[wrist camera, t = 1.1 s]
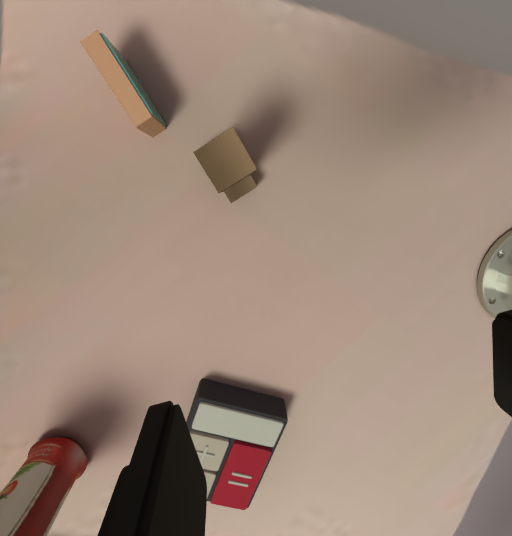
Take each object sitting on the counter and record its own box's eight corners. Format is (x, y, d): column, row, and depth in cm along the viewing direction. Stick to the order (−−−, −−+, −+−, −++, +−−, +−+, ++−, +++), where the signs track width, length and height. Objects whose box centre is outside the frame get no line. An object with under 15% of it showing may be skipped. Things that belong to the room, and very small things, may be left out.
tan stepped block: (227, 137, 31) (221, 107, 20) (255, 186, 33) (266, 186, 21) (201, 153, 31) (181, 133, 20) (231, 202, 33) (228, 209, 21)
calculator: (162, 499, 38) (196, 401, 34) (170, 467, 42) (201, 376, 38) (248, 516, 39) (290, 424, 35) (247, 483, 44) (285, 398, 40)
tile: (124, 57, 29) (99, 28, 24) (168, 127, 31) (153, 115, 25) (108, 68, 29) (79, 41, 24) (152, 137, 31) (135, 127, 26)
